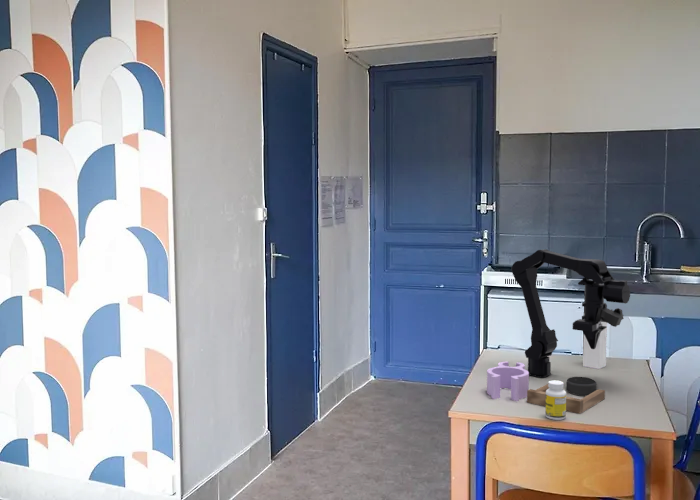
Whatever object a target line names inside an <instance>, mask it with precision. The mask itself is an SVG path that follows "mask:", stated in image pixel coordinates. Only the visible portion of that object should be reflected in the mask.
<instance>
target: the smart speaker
mask: <svg viewBox="0 0 700 500" xmlns="http://www.w3.org/2000/svg"><path fill="white" fill-rule="evenodd" d="M565 385H566V387H565V389H566V391H567V393H570V394H572V395H575V396H581V397H582V396H583V397H586V396H587V395H589V394H591V393H593V392H594V391H596V390H598V389H597V388H598V383H597V381H596V380H595V379H594V378H589V377H586V376H585V377H584V376H572V377H569V378H567V379H566V383H565Z"/></svg>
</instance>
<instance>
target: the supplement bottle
mask: <svg viewBox="0 0 700 500" xmlns="http://www.w3.org/2000/svg"><path fill="white" fill-rule="evenodd" d="M547 384H548V387H549V389H547V390H546V406H545V414H544V415H545V417H546V418H548V420H549V419H550V420H554V421H561V420H565V419H566V417H567V411H566V396H567V392H566V390H565V389H564V388H565V386H564V382H563V381H561V380H558V379H557V380H555V379H553V380H549V381H548V382H547Z"/></svg>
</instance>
